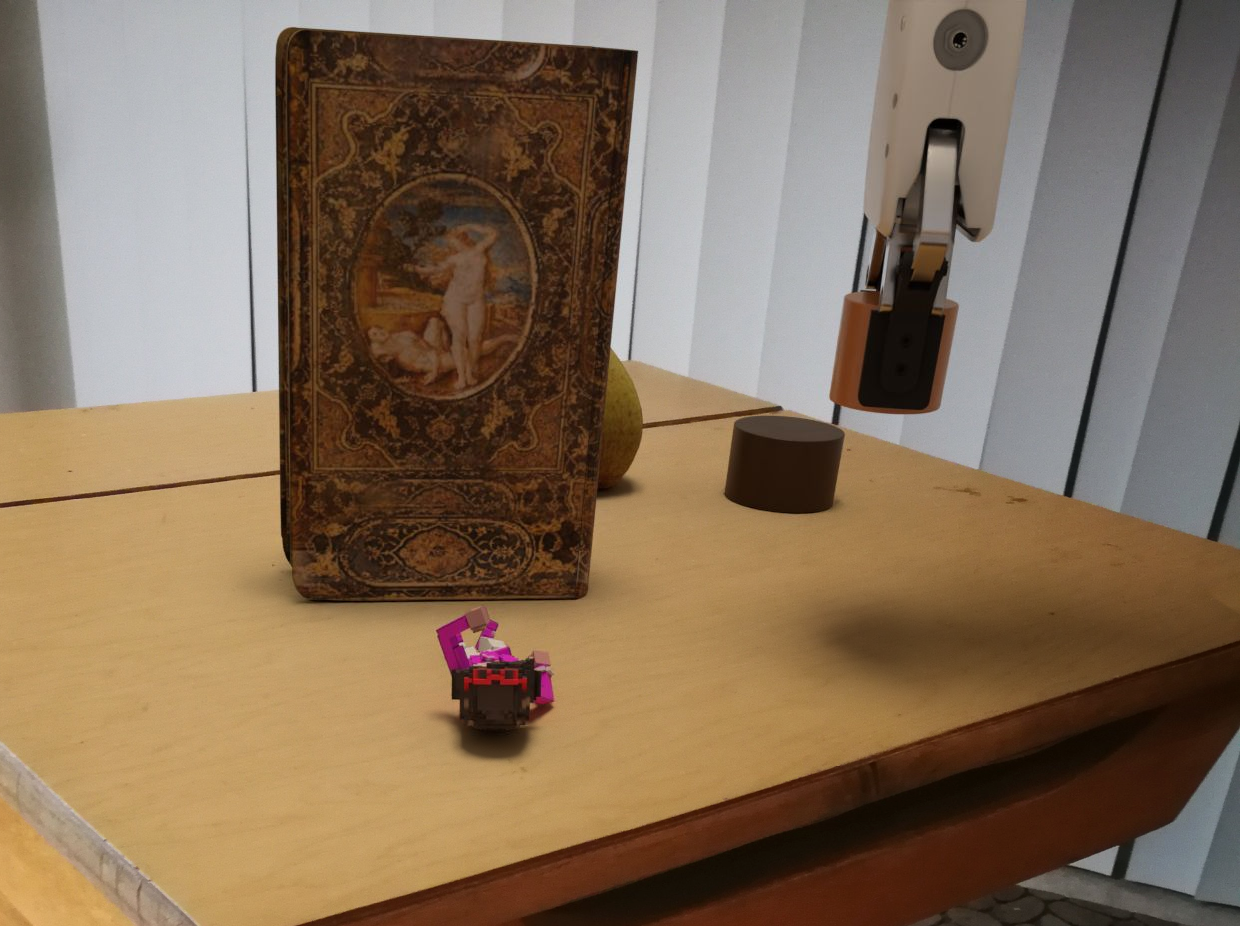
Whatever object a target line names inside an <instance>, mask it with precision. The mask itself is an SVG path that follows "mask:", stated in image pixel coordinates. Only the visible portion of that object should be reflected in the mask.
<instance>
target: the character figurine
mask: <svg viewBox="0 0 1240 926" xmlns="http://www.w3.org/2000/svg"><path fill="white" fill-rule="evenodd" d="M498 628H499V622H496V621H495V620H492V619H491V618H490V615H489V613H488V610H487V607H486V605H485V604H483V605H480V606H476V607H474V608H472V609H470V610H467V611H466V612H464V614H463V615H462V616H459V617H457V618H456V619H453V620H451V621H449V622H447V623H446V624H444V625H441V626H440V627H438V628H437V629H436V630H435V632H436V634H437V635H436V636H437V641H438V642H439V646H440V648H441V651H442V654H443V657H444V659H445V663H446V665H447V667H448V671H449V674H450V676H451V701H454V700H456V701H457V700H458V701H459V720H460V721H461V720H462V721H463V725H464V726H465V725H466V726H468V727H469V728H470V727H471V728H472V729H476V730H481V731H485V732H504V731H508V730H512V729H513V730H516V729H518V728H520V727H521V726H526V721H530V718H531V717H530V715H531V704H537V705H540V706H543V705H547V704H550V703H554V702H555V697H554V691H553V684H552V683H553V682H552V678H553V676H554V675H555V671H554V669H553V668H551V665H552V663H551V658H550V653H549V651H541V650H534V649H533V650H532V652H531V654H530V655H528V656H527V657H526V658H525V659H520V658H518V657H515V656H514V655H512V650H511V647H510V646H509V645H508V644H505V642H504V640H502V639H496V638H495V636H496V634H497V630H498ZM467 630H470V631H472V634H476V633H479V632H480V635H479V637H478V639H477V641H476V644H475V647H474V645H470V646H467V644H466V642H465V641H464V639H463V635H462V633H463V632H465V631H467Z"/></svg>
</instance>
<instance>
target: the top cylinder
mask: <svg viewBox="0 0 1240 926" xmlns="http://www.w3.org/2000/svg"><path fill="white" fill-rule="evenodd" d="M879 298H880V291H876V290H871V291H863V292H860V291H854V292H849V293H847V294H844V296H843V301H842V306H841V308H842V309H841V313H840V320H839V326H838V327H839V328H838V334H837V341H836V347H835V353H834V354H835V355H834V362H833V367H832V374H831V381H830V388H829V394H828V398H829V400H830V401H831V402H832V403H834V404H836V405H839V406H841V407H843V408H847V409H852V410H857V411H859V412H860V411H862V412H867V413H874V414H884V415H902V416H903V415H905V416H906V415H921V414H929V413H934V412H936V411H938V410H939V409H940V407H941V405H942V400H943V395H944V394H943V393H944V390H945V389H944V388H945V384H946V378H947V373H948V368H949V362H950V356H951V352H952V346H953V341H954V336H955V332H956V331H955V330H956V325H957V320H958V313H959V308H960V304H959V303H958V302H957V301H955V300H952V299H949V298H946V303H945V308H944V312H943V314H944V315H945V321H944V327H943V332H942V338H941V343H940V349H939V354H938V359H937V365H936V370H935V376H934V381H933V387H932V392H931V398H930V402H929V405H928V406H927V407H926V408H925V409H923V410H908V409H892V408H877V407H865V406H862V405H861V404H860V403H859V400H858V389H859V383H860V377H861V371H862V364H863V358H864V352H865V345H866V339H867V333H868V327H869V320H870V314H871V310H878V308H879Z"/></svg>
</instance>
